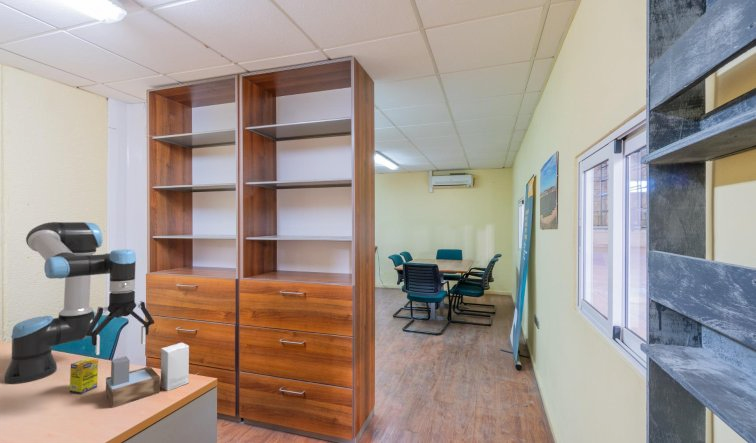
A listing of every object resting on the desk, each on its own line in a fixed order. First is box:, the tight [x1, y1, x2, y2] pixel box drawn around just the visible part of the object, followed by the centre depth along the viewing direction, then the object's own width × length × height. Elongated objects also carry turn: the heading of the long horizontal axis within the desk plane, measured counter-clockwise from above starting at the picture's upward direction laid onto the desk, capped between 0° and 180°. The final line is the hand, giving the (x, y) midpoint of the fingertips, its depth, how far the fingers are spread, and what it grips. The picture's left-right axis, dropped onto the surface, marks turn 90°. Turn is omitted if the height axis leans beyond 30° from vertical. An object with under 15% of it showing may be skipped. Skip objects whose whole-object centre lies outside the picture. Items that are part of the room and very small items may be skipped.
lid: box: [107, 356, 152, 392], centre depth 124 cm, size 12×11×9 cm
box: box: [105, 366, 161, 408], centre depth 125 cm, size 14×13×6 cm
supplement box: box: [69, 357, 99, 395], centre depth 127 cm, size 6×6×11 cm
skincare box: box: [160, 342, 190, 392], centre depth 132 cm, size 8×7×16 cm
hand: (121, 348), depth 122 cm, fingers open, 13 cm apart
